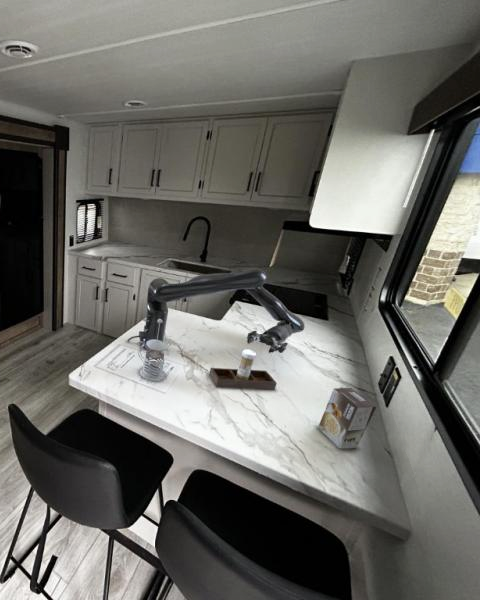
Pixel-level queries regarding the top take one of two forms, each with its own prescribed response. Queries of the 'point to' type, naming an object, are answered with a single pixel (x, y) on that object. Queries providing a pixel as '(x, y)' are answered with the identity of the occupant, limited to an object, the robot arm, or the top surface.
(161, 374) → the french press
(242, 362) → the brown spice jar
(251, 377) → the tray
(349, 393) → the coffee box
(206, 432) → the top surface
